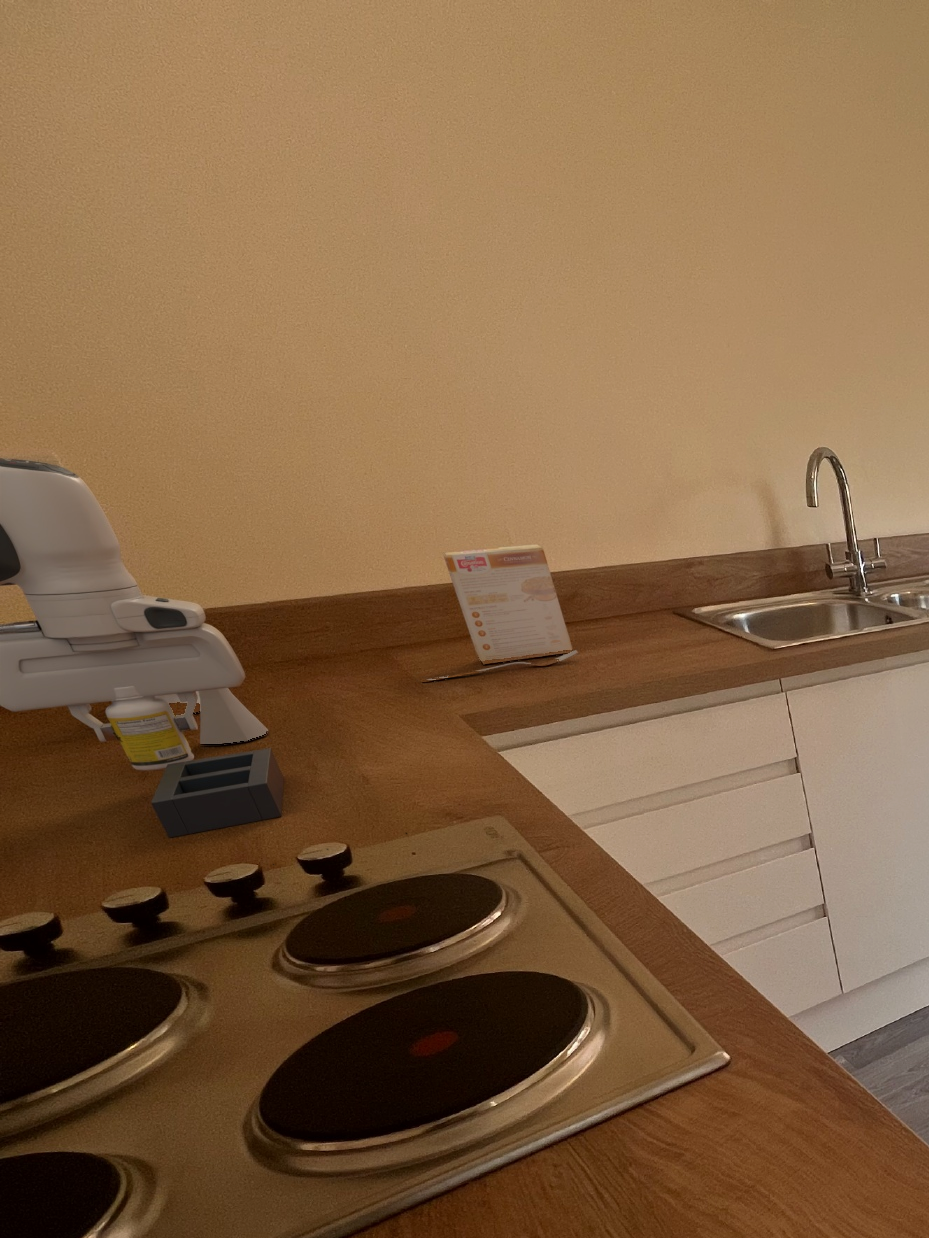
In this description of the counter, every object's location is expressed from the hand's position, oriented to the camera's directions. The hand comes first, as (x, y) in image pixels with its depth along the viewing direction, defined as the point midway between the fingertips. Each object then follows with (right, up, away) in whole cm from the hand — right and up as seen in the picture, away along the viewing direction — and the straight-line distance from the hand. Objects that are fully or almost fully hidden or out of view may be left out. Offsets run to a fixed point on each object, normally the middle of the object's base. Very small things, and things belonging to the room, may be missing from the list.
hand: (151, 735), depth 113 cm
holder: (+13, -9, -3) cm, 16 cm away
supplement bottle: (0, -3, +2) cm, 4 cm away
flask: (-10, +2, +21) cm, 23 cm away
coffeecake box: (-1, +25, +67) cm, 72 cm away
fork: (+2, +20, +57) cm, 60 cm away
